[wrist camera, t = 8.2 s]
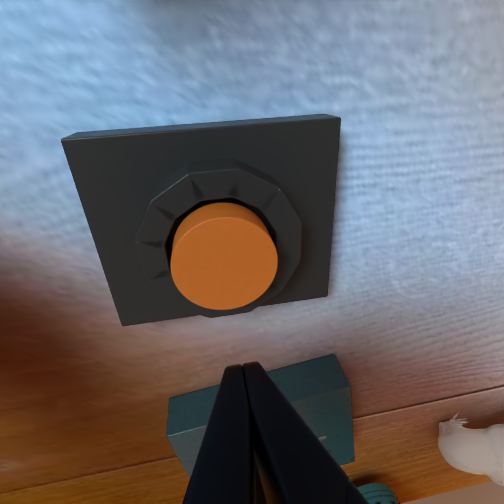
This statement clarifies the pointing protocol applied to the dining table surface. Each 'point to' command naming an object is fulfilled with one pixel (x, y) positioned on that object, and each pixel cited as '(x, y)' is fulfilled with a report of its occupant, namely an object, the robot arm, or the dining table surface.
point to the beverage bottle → (378, 493)
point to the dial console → (298, 394)
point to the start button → (223, 257)
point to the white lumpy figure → (473, 448)
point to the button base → (207, 202)
